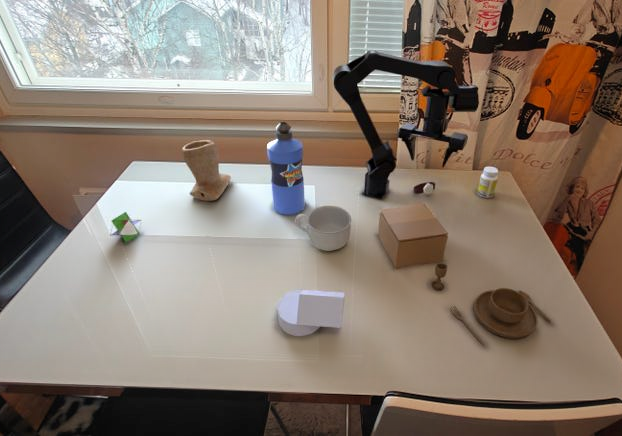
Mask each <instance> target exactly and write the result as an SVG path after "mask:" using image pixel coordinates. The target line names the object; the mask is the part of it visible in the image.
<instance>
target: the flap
mask: <svg viewBox="0 0 622 436" xmlns="http://www.w3.org/2000/svg"><path fill="white" fill-rule="evenodd" d="M379 210H380V211H379V212H381V213H382V214H383V216H384V218H385V220H386V221H387V223H388V225H389V224H394V223H401V222H409V221H416V220H423V219H431V218H436V216H435V215H434V214H433V212H432V211H431V209H430V208H429V207H428V206H427V204H426V203H419V204H412V205H403V206H396V207H387V208H380V209H379Z"/></svg>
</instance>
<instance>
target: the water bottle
mask: <svg viewBox="0 0 622 436" xmlns="http://www.w3.org/2000/svg"><path fill="white" fill-rule="evenodd" d="M291 128H292V126H291V125H290V124H289V123H288V122H286V121H281V122H279V123H278V124H277V125H276V126H275V139H274V140H271V141H269V142H268V143H267V145H266V152H267V159H268V161H269V165H270V170H271V177H270V184H271V196H272V204H273V210H274V211H275V212H276V213H277V214H279V215H280V214H281V215H287V216H289V215H290V216H291V215H292V216H293V215H297V214H300V213H301V212H302V211H303V210H304V209H305V207H306V201H305V200H306V197H305V180H304V175H303V170H302V169H303V158H304V147H303V142H302V141H300V140H299V139H297V138H293V130H292V129H291Z"/></svg>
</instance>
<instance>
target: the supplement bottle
mask: <svg viewBox="0 0 622 436" xmlns="http://www.w3.org/2000/svg"><path fill="white" fill-rule="evenodd" d="M498 174H499V169H498V168H497V167H495V166H485V167H484V168H483V171H482V173H481V175H480V178H479V182H478V187H477V192H476V193H477V195H478V196H480V197H481V198H485V199H486V198H487V199H488V198H489V199H490V198H492V197H494V194H495V190H496V188H497V183H498V180H499V176H498Z"/></svg>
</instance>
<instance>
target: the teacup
mask: <svg viewBox="0 0 622 436" xmlns="http://www.w3.org/2000/svg"><path fill="white" fill-rule="evenodd" d="M301 220H304V221H305V222H306V225H307V226H306V225H304V224H303V223H302V222H301ZM294 221H295V225H296V226H297V228H299V229H300V230H301V231H302V232H304V233H305V234H306V235H308V239H309V241H310V243H311V244H312V245H313V246H314V247H315V248H317V249H319V250H321V251H327V252H333V251H337V250H339V249H341V248H343V247H344V246H345V245H346V244H347V243H348V241H349V239H350V236H351V223H352V216H351V214H350V212H348V211H347V210H346V209H345V208H343V207H340V206H335V205H323V206H319V207H316V208H314V209H312V210H311V211H310V212H309V213H308V215H307V214H306V213H298V214H297V215H296V217H295V220H294Z"/></svg>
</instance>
